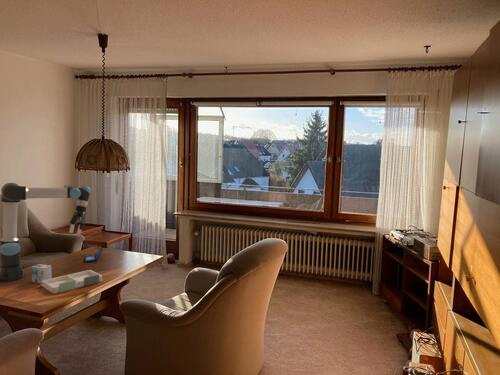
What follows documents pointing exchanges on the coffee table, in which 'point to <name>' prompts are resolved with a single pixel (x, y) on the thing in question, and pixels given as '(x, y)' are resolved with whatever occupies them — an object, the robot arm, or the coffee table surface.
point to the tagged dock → (72, 281)
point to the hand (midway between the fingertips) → (74, 233)
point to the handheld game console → (93, 257)
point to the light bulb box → (41, 273)
